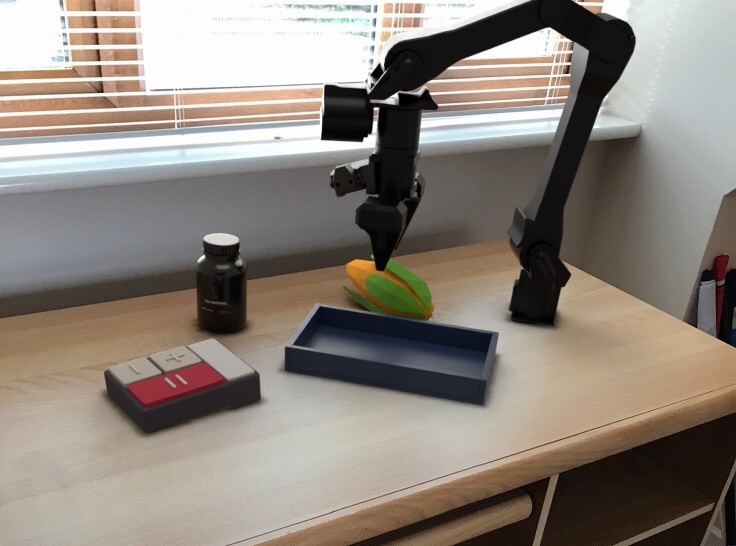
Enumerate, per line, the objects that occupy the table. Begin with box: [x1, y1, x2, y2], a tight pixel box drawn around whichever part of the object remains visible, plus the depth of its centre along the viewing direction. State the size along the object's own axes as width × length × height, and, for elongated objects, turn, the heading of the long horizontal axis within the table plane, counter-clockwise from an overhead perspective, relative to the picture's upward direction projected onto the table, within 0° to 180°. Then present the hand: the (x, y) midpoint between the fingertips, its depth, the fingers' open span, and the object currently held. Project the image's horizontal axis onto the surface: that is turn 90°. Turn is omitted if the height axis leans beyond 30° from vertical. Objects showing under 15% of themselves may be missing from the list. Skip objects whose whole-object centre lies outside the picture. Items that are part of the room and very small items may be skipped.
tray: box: [283, 302, 500, 406], centre depth 111 cm, size 26×15×3 cm, turn 76°
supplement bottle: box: [195, 233, 248, 334], centre depth 115 cm, size 7×7×12 cm
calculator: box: [103, 338, 262, 434], centre depth 100 cm, size 11×4×15 cm
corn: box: [342, 254, 435, 321], centre depth 123 cm, size 7×8×20 cm
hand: (386, 259), depth 121 cm, fingers open, 9 cm apart
